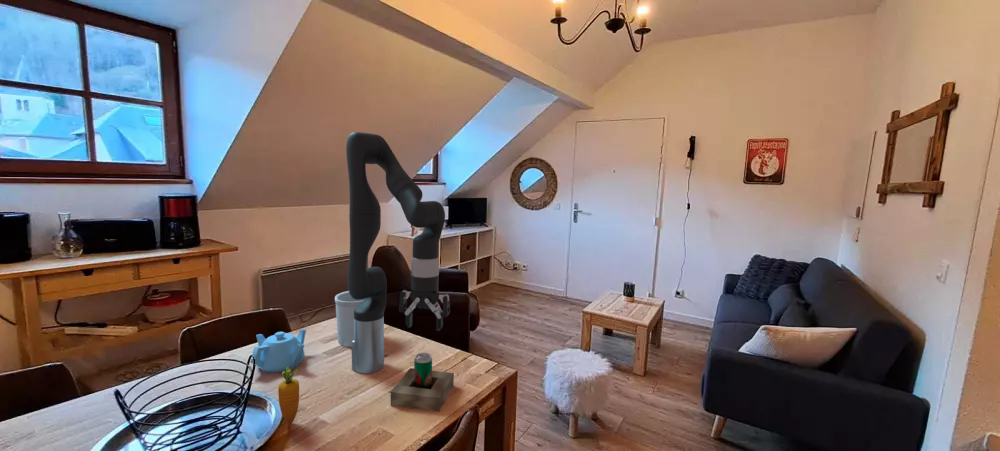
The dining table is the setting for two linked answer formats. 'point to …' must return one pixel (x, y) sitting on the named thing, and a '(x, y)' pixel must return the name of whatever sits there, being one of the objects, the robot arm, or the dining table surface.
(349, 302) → the utensil holder
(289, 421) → the carrot
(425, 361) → the soda can
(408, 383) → the socket block
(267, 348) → the teapot
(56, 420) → the dining table surface
